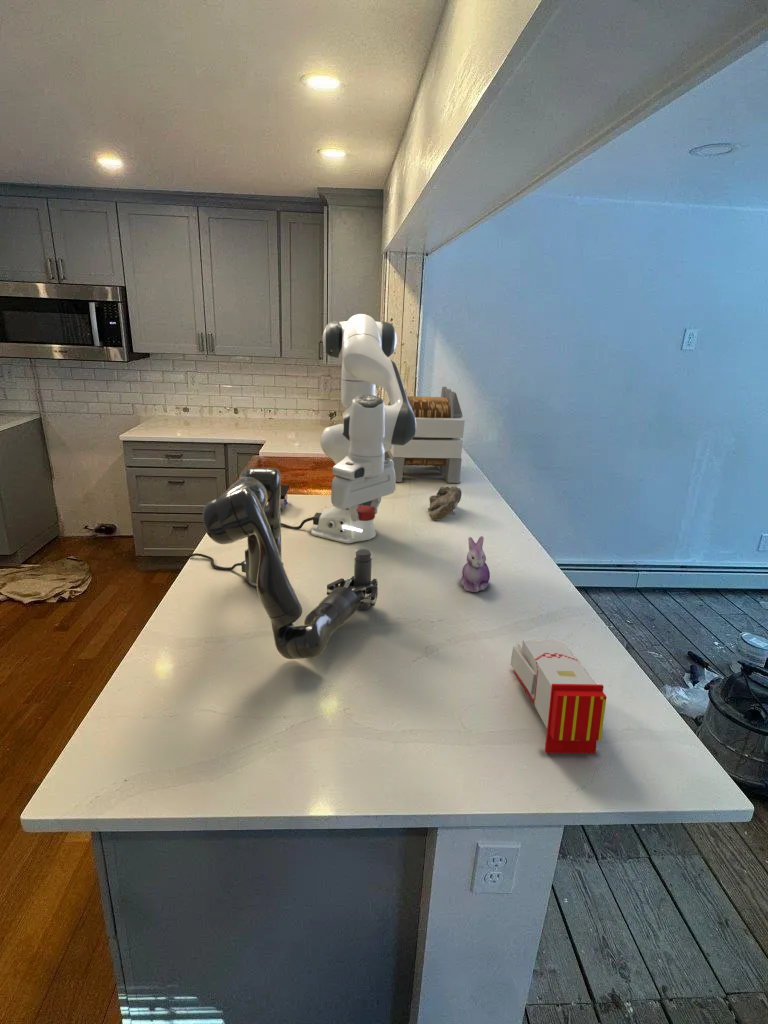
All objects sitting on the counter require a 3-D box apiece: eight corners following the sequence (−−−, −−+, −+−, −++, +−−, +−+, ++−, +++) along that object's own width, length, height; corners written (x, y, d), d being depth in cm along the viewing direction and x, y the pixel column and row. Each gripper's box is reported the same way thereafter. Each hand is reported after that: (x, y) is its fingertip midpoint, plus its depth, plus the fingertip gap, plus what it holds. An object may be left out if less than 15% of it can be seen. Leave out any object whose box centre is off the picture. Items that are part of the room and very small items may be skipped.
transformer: (382, 463, 289) (386, 382, 275) (445, 464, 293) (451, 384, 279) (390, 482, 257) (394, 392, 243) (460, 483, 261) (468, 394, 247)
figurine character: (285, 517, 214) (290, 500, 227) (284, 499, 210) (289, 483, 224) (267, 517, 213) (273, 500, 227) (266, 498, 210) (272, 482, 223)
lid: (359, 522, 139) (360, 513, 138) (349, 515, 143) (350, 506, 143) (378, 519, 142) (379, 510, 141) (368, 512, 146) (368, 504, 145)
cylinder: (370, 601, 153) (372, 548, 148) (369, 609, 149) (371, 555, 144) (353, 600, 153) (355, 548, 148) (352, 609, 149) (354, 555, 144)
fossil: (424, 492, 232) (454, 472, 227) (437, 509, 235) (468, 490, 230) (422, 516, 212) (456, 495, 207) (437, 534, 215) (470, 514, 210)
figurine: (471, 596, 158) (477, 546, 153) (451, 580, 166) (455, 533, 161) (498, 590, 162) (504, 541, 157) (477, 575, 171) (482, 529, 166)
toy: (559, 623, 127) (616, 692, 98) (553, 678, 130) (607, 761, 101) (505, 622, 127) (547, 691, 98) (501, 677, 130) (540, 760, 100)
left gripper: (363, 601, 133) (392, 572, 148) (310, 587, 138) (343, 561, 153) (363, 629, 135) (390, 598, 150) (310, 614, 140) (342, 586, 155)
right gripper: (383, 454, 147) (381, 504, 152) (327, 468, 132) (326, 523, 137) (402, 459, 143) (399, 510, 148) (346, 474, 129) (345, 531, 133)
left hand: (366, 579), depth 151 cm, fingers closed on cylinder, 4 cm apart
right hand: (364, 517), depth 143 cm, fingers closed on lid, 5 cm apart
